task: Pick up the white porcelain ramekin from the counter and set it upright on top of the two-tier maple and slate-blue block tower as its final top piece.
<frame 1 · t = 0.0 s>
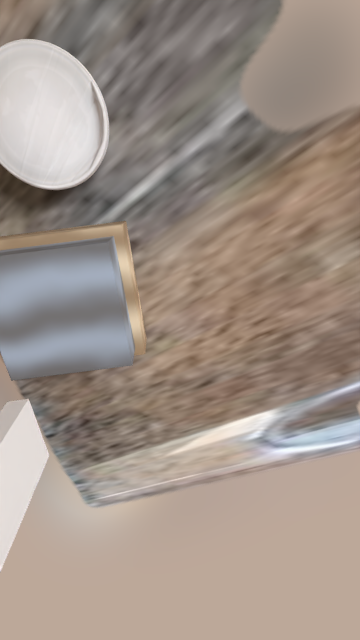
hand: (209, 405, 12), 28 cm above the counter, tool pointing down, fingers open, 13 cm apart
ramekin: (60, 130, 33), on the counter
block tower: (75, 292, 39), on the counter
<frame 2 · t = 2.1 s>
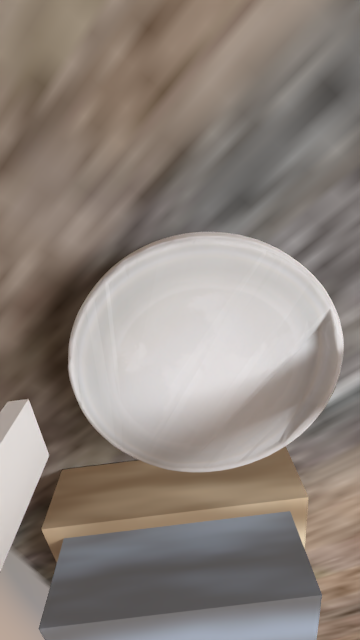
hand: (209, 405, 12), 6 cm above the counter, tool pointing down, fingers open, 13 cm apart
ramekin: (196, 321, 18), on the counter
block tower: (184, 527, 24), on the counter
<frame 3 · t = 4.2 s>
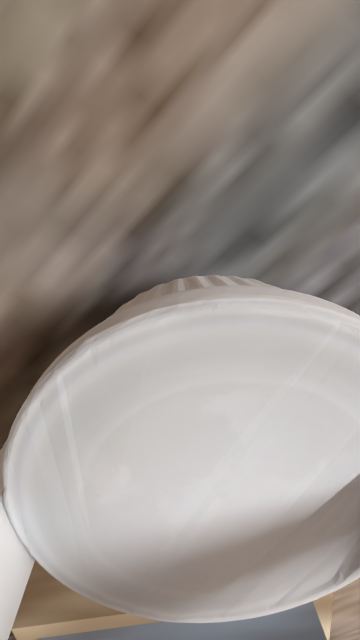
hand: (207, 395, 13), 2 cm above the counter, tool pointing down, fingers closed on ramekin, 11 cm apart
ramekin: (205, 384, 13), point 2 cm above the counter, touching gripper
block tower: (185, 601, 21), on the counter
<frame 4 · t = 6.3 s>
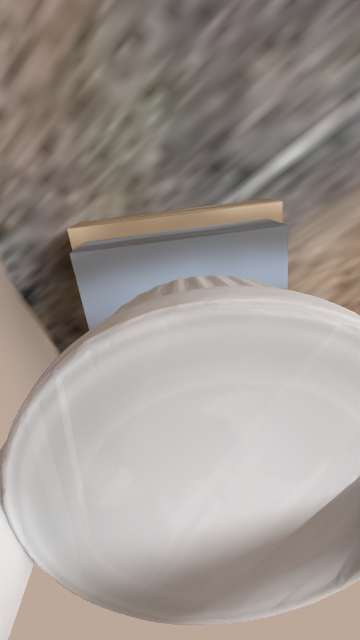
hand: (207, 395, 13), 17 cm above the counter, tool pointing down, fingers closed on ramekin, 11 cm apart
ramekin: (205, 385, 13), point 16 cm above the counter, touching gripper
block tower: (183, 297, 29), on the counter
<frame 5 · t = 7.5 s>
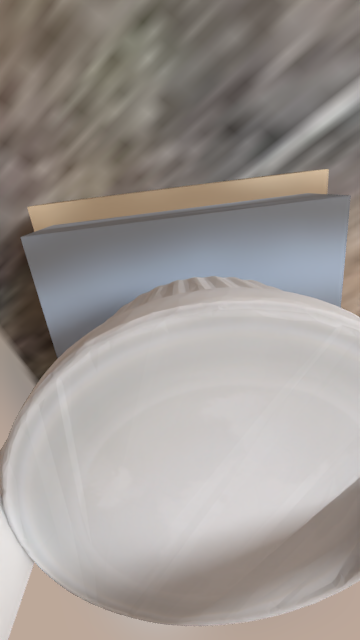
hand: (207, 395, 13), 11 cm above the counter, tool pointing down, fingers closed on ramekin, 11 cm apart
ramekin: (205, 385, 13), point 10 cm above the counter, touching gripper
block tower: (188, 302, 22), on the counter
when the fingers open (9 cm above the counter, at t = 8.3 s): ramekin drops 1 cm, resting on block tower.
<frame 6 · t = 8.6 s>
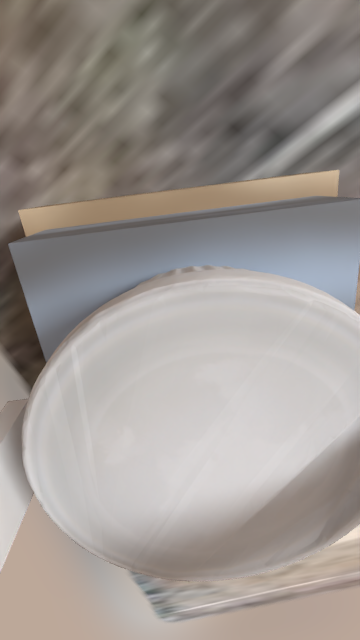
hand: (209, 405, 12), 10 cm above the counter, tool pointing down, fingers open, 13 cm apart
ramekin: (202, 368, 14), point 8 cm above the counter, touching block tower
block tower: (188, 309, 21), on the counter
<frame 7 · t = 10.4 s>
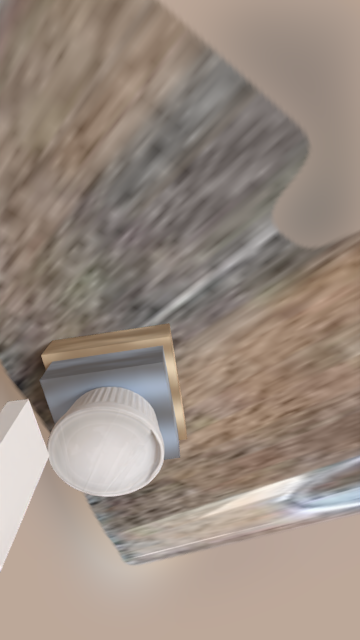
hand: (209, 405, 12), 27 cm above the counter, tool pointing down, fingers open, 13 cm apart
ramekin: (114, 418, 36), point 8 cm above the counter, touching block tower
block tower: (122, 382, 43), on the counter
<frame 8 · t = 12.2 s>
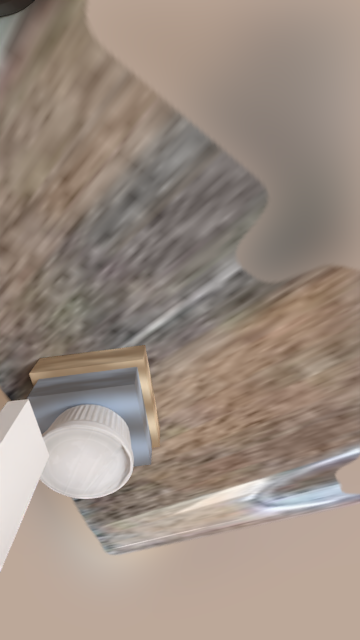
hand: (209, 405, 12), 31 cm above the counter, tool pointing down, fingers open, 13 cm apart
ramekin: (92, 430, 41), point 8 cm above the counter, touching block tower
block tower: (103, 395, 48), on the counter
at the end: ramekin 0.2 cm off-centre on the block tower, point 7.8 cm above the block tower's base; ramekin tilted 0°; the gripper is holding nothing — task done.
